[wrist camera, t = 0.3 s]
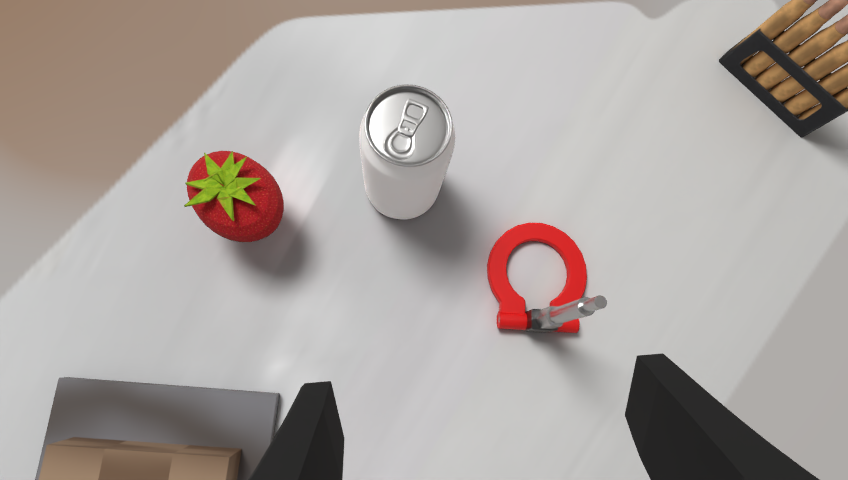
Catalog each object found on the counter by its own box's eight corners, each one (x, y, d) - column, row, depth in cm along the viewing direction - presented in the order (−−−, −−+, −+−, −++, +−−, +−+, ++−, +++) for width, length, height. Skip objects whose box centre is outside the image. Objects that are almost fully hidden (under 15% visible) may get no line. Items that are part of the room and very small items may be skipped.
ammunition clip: (717, 60, 48) (823, -31, 37) (729, 49, 49) (837, -45, 37) (801, 138, 47) (938, 69, 35) (812, 126, 48) (951, 53, 36)
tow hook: (486, 222, 43) (484, 329, 41) (529, 163, 31) (530, 311, 29) (579, 229, 44) (583, 335, 42) (658, 173, 32) (670, 319, 29)
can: (352, 203, 42) (340, 149, 31) (382, 139, 44) (381, 63, 32) (422, 232, 42) (437, 188, 31) (450, 167, 44) (474, 101, 32)
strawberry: (260, 272, 41) (220, 248, 31) (197, 209, 41) (138, 167, 31) (312, 221, 42) (290, 183, 32) (250, 162, 42) (210, 107, 33)
